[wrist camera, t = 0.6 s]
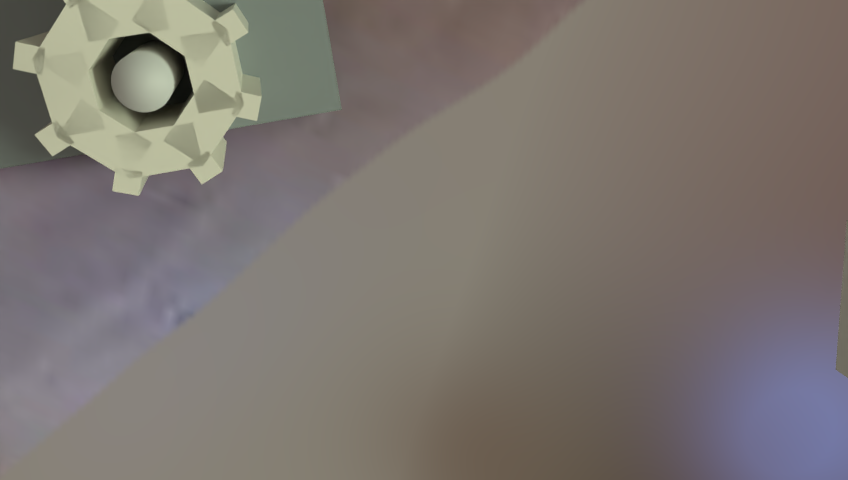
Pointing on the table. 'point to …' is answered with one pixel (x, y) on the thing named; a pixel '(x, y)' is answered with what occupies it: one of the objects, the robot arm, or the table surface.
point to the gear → (127, 129)
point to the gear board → (259, 52)
